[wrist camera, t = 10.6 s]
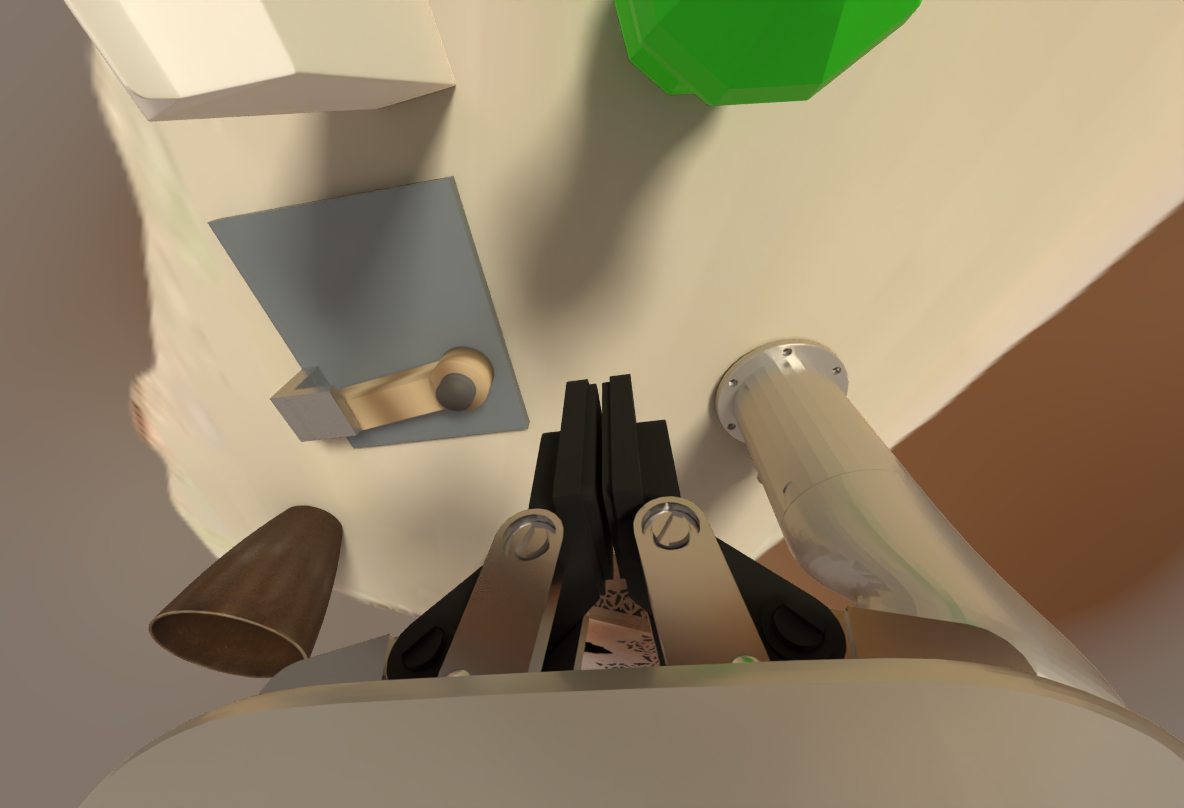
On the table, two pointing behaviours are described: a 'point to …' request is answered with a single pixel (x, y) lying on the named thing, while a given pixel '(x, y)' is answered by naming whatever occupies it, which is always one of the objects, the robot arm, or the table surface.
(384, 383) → the link
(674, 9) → the plastic bottle
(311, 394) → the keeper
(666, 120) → the table surface
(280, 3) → the milk
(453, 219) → the board
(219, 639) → the plant pot
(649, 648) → the tissue box cover
